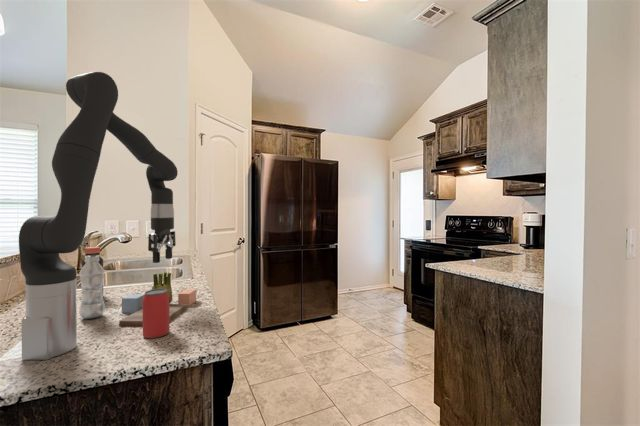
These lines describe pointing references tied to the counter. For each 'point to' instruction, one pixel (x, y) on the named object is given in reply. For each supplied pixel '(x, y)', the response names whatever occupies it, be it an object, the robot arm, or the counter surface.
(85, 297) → the plastic bottle
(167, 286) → the fennel bulb
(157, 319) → the beer can
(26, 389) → the counter surface
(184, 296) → the terracotta block
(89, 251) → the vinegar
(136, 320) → the walnut board
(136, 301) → the smoky blue cube
